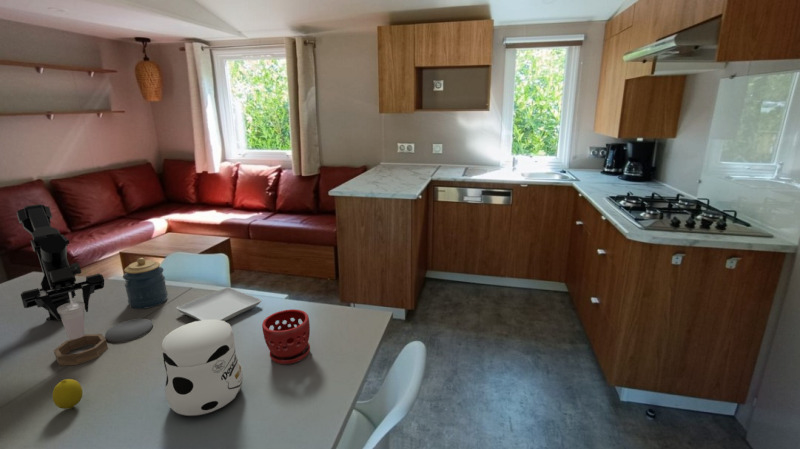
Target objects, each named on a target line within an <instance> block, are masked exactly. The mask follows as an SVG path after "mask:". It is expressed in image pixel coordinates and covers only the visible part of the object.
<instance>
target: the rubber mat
mask: <svg viewBox="0 0 800 449" xmlns="http://www.w3.org/2000/svg"><path fill="white" fill-rule="evenodd" d="M153 327H154V326H153V322H152V320H151V319H148V318H134V319H129V320H125V321H121V322H119V323H117V324H115V325H113V326H111V327H109V329H107V331H105V334H104V338H105V339H106V341H108V342H111V343H123V342H129V341H133V340H136V339H138V338H141V337H143V336H145V335H146V334H148V333H149V332H151V330H152V329H153Z"/></svg>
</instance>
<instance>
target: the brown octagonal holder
mask: <svg viewBox="0 0 800 449" xmlns="http://www.w3.org/2000/svg"><path fill="white" fill-rule="evenodd" d="M89 345H91V346H92V345H94V346H93V347H91V348H89V349H85V350H83V351H80V352H77V353H70V352H71V351H73V350H75V349H79V348H81V347H84V346H89ZM108 349H109V347H108V344H107V340H106V337H105V335H104V336H103V333H91V334H90V333H89V334H85V335H84V336H83V337H81V338H78V339H67V340H65V341H64V342H62V343H61V344H60V345H59V346H57V347H55V349H53V353H54V356H55V360H56V361H57V363H58V364H59V367H61V366H63V367H64V366H79V365H80V364H83V363H86V362H88V361H91V360H94V359H97V358H99V357H100V355H102V354H103V353H104V352H106V350H108Z"/></svg>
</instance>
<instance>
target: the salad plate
mask: <svg viewBox="0 0 800 449" xmlns="http://www.w3.org/2000/svg"><path fill="white" fill-rule="evenodd" d="M261 302H262V299H260V298H259V297H256V296H253V295H251V294H250V295H249V294H247V293H245V292H242V291H240V290H237V289H234V288H231V287H224V288H222V289H219V290H216V291H214V292H210V293H208V294H206V295H203V296H201V297H198V298H196V299H193V300H191V301H189V302H188V301H187V302H186V303H183V304H181V305H178V306H176V307H175V310H177V311H178V312H180V313H182V314H183V315H186V316H188V317H191V318H193V319H195V320H196V321H201V320H215V319H216V320H221V321H225V322H226V321H228V320H231V319H233V318H235V317H236V316H238V315H240V314H243V313H244V312H246V311H249V310H251V309H254V308H255V307H257V306H258V305H260V304H261Z"/></svg>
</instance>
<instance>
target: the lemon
mask: <svg viewBox="0 0 800 449" xmlns="http://www.w3.org/2000/svg"><path fill="white" fill-rule="evenodd" d="M82 397H83V388H82V385H81V383H80V382H78V380H76V379H72V378H67V379H65V378H64V379H62V380H61V381H60V382H58V383H57V384H56V385H55V386H54V388H53V391H52V401H53V403H54V405H55V406H56V407H58V408H59V409H63V410H65V409H66V410H68V409H73V408H74V407H75V406H77V404H79V403H80V401H81V400H82Z"/></svg>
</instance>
